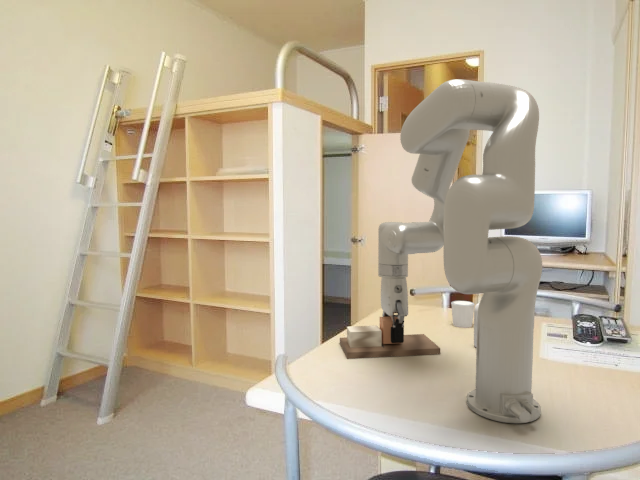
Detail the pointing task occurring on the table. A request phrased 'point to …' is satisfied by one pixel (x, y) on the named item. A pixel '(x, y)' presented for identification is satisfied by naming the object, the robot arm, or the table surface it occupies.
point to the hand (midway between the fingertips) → (392, 337)
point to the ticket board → (370, 344)
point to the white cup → (462, 313)
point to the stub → (386, 329)
